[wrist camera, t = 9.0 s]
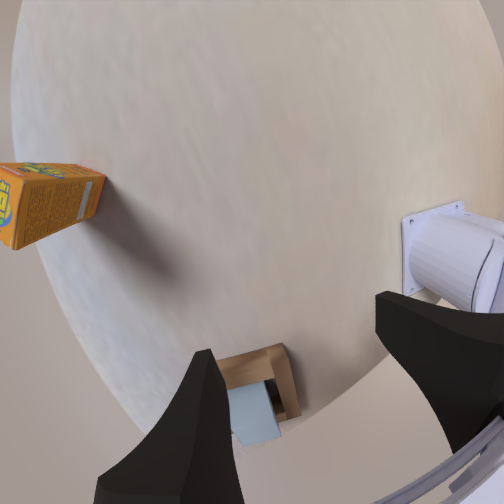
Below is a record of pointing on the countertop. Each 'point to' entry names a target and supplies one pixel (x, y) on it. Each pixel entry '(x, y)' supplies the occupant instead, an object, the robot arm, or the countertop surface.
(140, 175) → the countertop surface
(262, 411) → the peg
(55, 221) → the supplement box
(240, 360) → the walnut holder
